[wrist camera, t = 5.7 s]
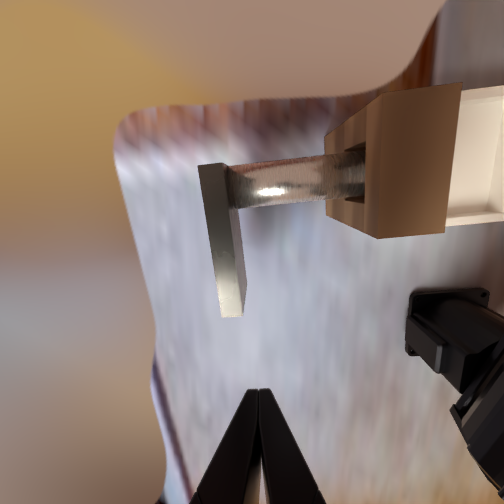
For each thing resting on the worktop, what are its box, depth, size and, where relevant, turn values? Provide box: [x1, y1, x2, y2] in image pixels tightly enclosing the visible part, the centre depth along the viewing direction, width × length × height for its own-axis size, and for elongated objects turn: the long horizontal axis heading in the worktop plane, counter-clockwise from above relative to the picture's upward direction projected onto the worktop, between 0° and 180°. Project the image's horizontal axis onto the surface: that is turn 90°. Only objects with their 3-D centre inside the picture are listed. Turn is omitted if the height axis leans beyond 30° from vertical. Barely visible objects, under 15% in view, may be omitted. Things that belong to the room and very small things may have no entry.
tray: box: [445, 85, 504, 226], centre depth 17 cm, size 10×9×2 cm
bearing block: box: [324, 82, 463, 239], centre depth 14 cm, size 3×6×9 cm, turn 6°
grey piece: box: [198, 150, 366, 318], centre depth 14 cm, size 9×8×4 cm
